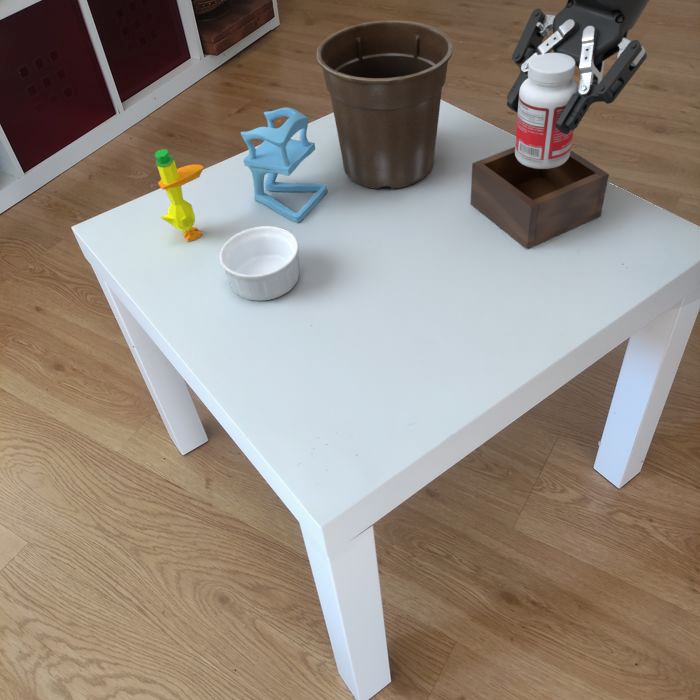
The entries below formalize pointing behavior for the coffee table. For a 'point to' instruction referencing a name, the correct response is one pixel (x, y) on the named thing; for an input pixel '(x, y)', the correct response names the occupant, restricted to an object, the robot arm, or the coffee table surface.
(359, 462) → the coffee table surface
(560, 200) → the holder
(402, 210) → the coffee table surface
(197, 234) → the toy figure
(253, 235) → the ramekin
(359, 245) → the coffee table surface
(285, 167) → the chair
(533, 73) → the pill bottle
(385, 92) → the plant pot
